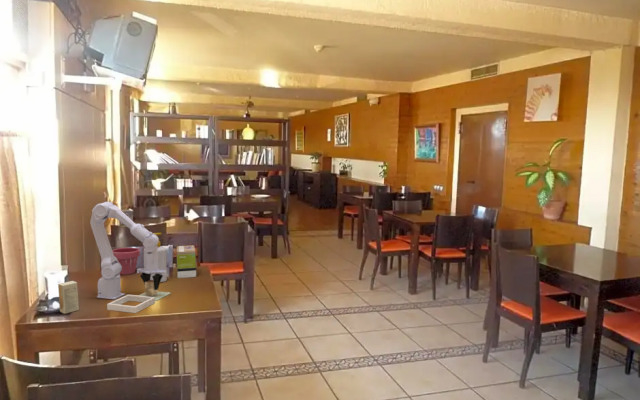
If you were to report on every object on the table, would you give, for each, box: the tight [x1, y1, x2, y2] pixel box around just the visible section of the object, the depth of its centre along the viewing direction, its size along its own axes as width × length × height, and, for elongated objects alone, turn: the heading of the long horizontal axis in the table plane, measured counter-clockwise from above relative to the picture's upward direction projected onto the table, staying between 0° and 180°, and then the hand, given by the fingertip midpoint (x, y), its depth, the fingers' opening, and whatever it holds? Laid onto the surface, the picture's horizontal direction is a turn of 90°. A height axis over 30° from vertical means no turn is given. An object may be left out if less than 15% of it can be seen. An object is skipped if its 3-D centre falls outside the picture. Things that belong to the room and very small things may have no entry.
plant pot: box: [112, 247, 141, 276], centre depth 260 cm, size 14×14×13 cm
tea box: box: [176, 244, 197, 279], centre depth 258 cm, size 15×10×15 cm
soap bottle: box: [143, 232, 168, 283], centre depth 243 cm, size 9×9×25 cm
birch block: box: [144, 280, 159, 296], centre depth 219 cm, size 4×4×6 cm
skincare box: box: [57, 280, 80, 315], centre depth 198 cm, size 6×4×12 cm
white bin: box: [106, 294, 156, 314], centre depth 205 cm, size 14×14×2 cm
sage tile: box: [138, 290, 172, 302], centre depth 220 cm, size 12×12×1 cm
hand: (152, 289), depth 220 cm, fingers closed on birch block, 4 cm apart
